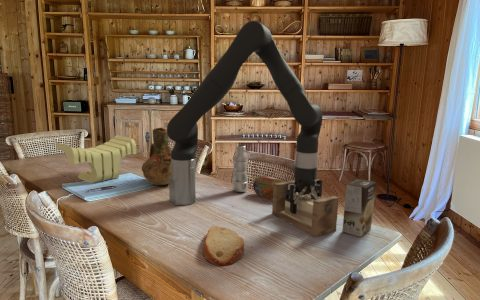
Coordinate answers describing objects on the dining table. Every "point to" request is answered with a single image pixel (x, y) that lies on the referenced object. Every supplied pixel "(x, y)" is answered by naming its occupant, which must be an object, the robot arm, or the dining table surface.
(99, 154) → the yellow slatted rack
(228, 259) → the slice of bread
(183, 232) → the dining table surface
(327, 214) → the holder
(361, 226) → the coffee box
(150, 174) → the ceramic vessel
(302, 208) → the birch block
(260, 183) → the tin
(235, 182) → the grey bottle
